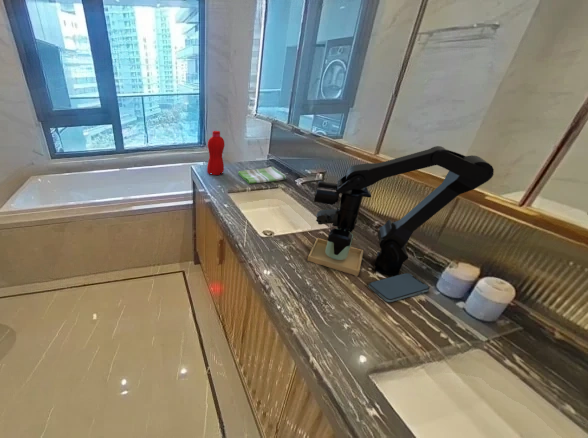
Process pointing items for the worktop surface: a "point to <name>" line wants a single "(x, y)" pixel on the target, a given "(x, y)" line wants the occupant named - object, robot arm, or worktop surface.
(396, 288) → the smartphone
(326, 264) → the tray
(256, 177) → the dish towel
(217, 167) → the water bottle
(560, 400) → the worktop surface
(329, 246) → the cup
